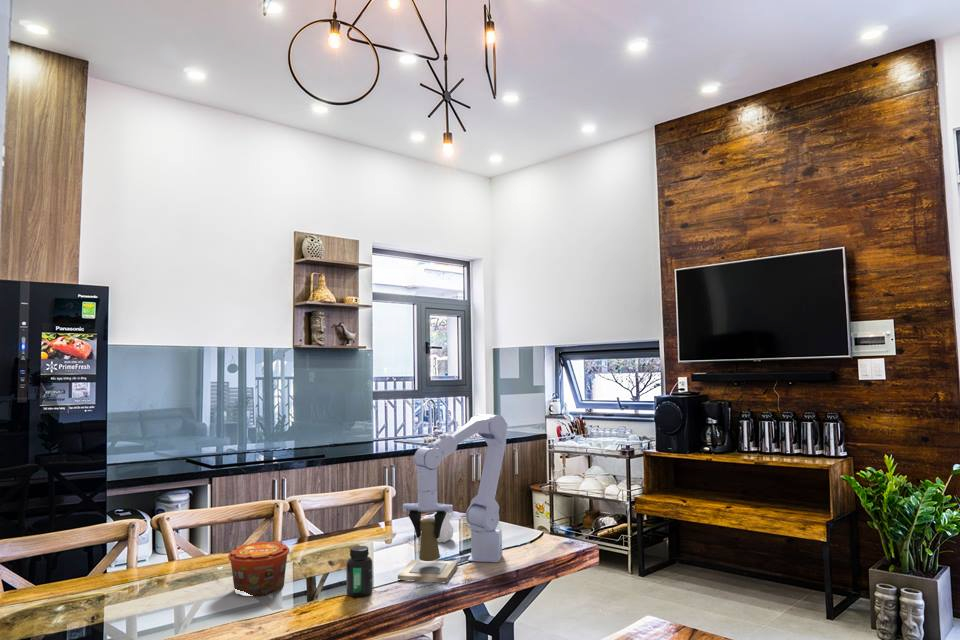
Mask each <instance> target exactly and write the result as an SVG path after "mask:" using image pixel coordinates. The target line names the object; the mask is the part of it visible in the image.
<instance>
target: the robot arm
mask: <svg viewBox="0 0 960 640" xmlns="http://www.w3.org/2000/svg"><path fill="white" fill-rule="evenodd" d="M507 429H508V423H507V422H506V420H505V418H504V417H503V415H501V414H489V413H488V414H486V413H482V412H481V413H480V412H479V413H477V414H476V415H475V416H472V417H470V419H469V421H467V422H466V423H465V424H463V425H462V426H461V427H460V428H458V429H457V430H455V431H454V432H453V433H451V434H450V433H441V434H440V435H439V436H438V438H437V439H436V440H434V441H432V442H429V443H428V444H427V445H426V447H425V446H424V447H423V446H422V447H419V448H418V449H417V450H416V451H415V453H414V455H413V457H412V461H413V464H414V465H415V467H416V469H415V470H416V472H417V473H416V475H417V477H416V479H417V481H416V483H417V502H416V503H414V502H413V503H412V502H411V503H404V504H402V512H405V513H406V512H409V514H408V517H409V519H410V520H411V523H412V525H413V527H414V531H415V536H416V538H421V533H422V532H421V530H420V527H419V525H420V522H421V521H422V513H425V512H426V513H435V514H434V515H433V516H434V520H435V526H436V530H435V537H436V538H439V537H440V530H441V526H442V523H443V520H444V518H445V516H446V513H447V512H448V513H452V512H454V510H453V509H454V505H453V504H445V503H439V502H438V467H439V466H440V465H441V463H442V461H443V459H445V458H447V457H448V456H449V455H451V454H453V453H454V452H456V450H457V449H458V445H459V444H460V443H462V442H464V441H466V440H467V439H469V438H471V437H472V436H475V434H478V435H479V436H480V437H481V439H483V440H484V441H485V443H486V444H487V448H486V454H485V457H484V458H485V459H484V462H483V467H482V471H481V476H480V480H479V481H480V482H479V485H478V490H477V495H475V496H474V497H473V498H472V499H470V504H469V506H468V508H467V509H466V512H465V521H466V522H467V524H469V529H470V541H471V542H470V545H471V546H470V548H471V551H470V552H471V554H470V556H469V557H468V559H467V560H468V562H482V563H499V562H500V560H501V558H502V557H503V533H502V529H497V527H498V525H499V523H500V514H499V512H500V505H499V504H498V502H497V500H496V494H497V489H498V483H499V479H500V475H501V470H502V465H503V459H504V455H505V450H506V446H507V435H506V434H507Z"/></svg>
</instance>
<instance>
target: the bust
mask: <svg viewBox="0 0 960 640" xmlns="http://www.w3.org/2000/svg"><path fill="white" fill-rule="evenodd" d="M454 515H455V512H454V511H453V512H452V513H448V512H447V513H446V516H445V518H444V520H443V523H442V526H441V530H440V537H439V538H437V542H438V543H445V544H446V542H448V541H449V540H451V539H453V537H454V531H455V530H454V526H453V524H452V523H451V521H450V520H452V519H453V518H454Z"/></svg>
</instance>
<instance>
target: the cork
mask: <svg viewBox="0 0 960 640" xmlns="http://www.w3.org/2000/svg"><path fill="white" fill-rule="evenodd" d="M419 527H420V530H421V536H420V546H419V559H418V560H422V561H438V560H439V559H440V558H441V556H440V555H441V554H440V549H439V544H438V543H439V542H438V541H437V538H436V537H435V530H436V526H435V518H423V519H421V522H420V525H419Z"/></svg>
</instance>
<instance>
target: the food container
mask: <svg viewBox="0 0 960 640" xmlns="http://www.w3.org/2000/svg"><path fill="white" fill-rule="evenodd" d="M289 554H290V548H289V547H288V546H287V544H285V543H284V544H283V543H282V542H279V541H270V542H267V541H255V542H251V543H249V544H242V545H239V546H237V547H236V546H235V548H234V549H233V550H231V551H230V552H229V553H228V555H227V557H228V560H229V561H230V567H231V575H232V581H233V582H232V583H233V589H234V588H235V589H237V590H240V591H244V592H246V593H248V594H250V595H253V596H255V597H256V596H257V597H262V596H268V595H270V594H275V593H277V592H278V591H280V590H282V589H283V587H284V586H285V578H286V568H287V560H288V555H289Z"/></svg>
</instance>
